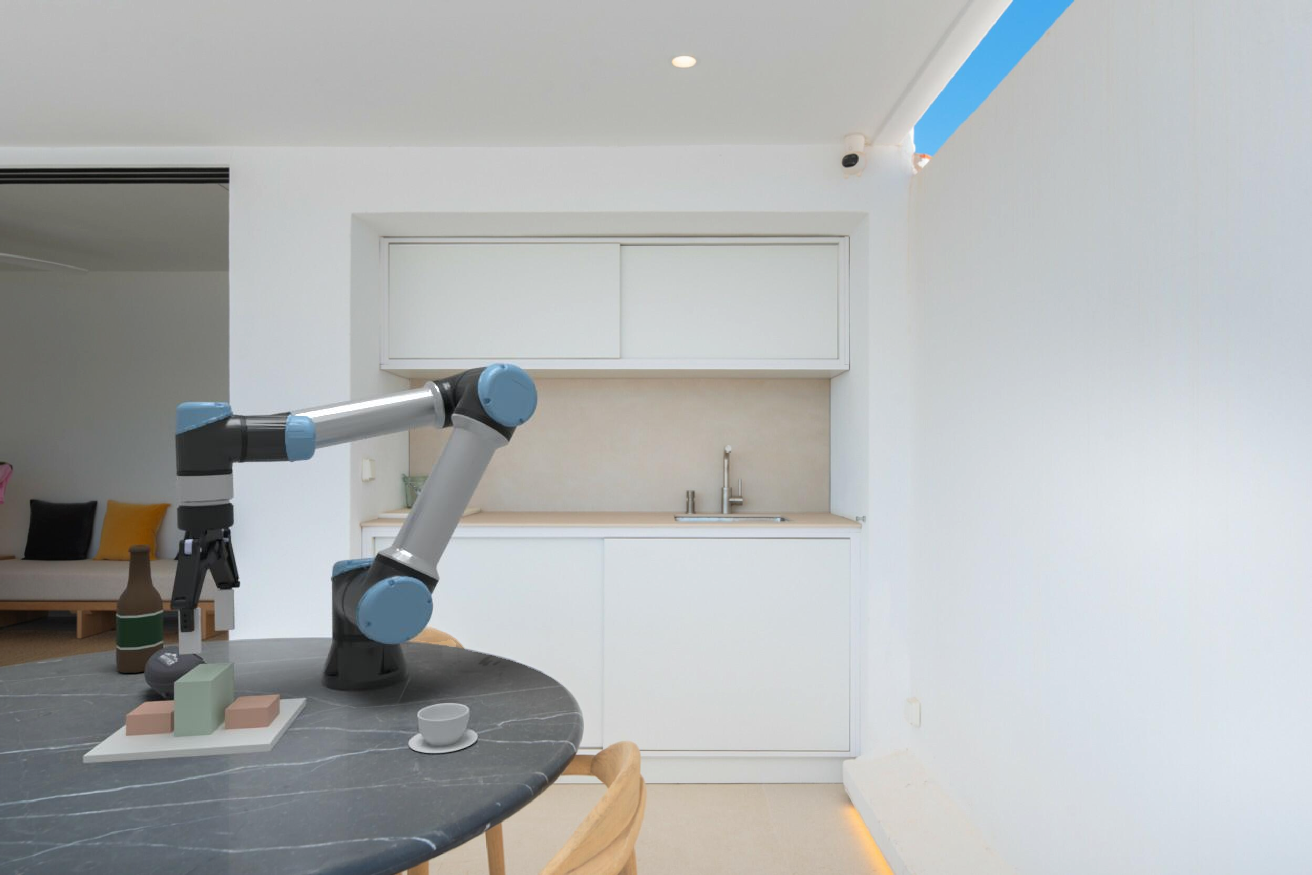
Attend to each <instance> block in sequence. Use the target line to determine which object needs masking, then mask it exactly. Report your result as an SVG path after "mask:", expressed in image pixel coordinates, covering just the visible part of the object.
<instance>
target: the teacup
mask: <svg viewBox="0 0 1312 875" xmlns="http://www.w3.org/2000/svg"><path fill="white" fill-rule="evenodd" d="M416 714H417V716H416V717H417V723H418V729H419V732H418V733H417V734H415V735H414V736H412V737H410V739H409V740H408V742H407V744H408V747H409V748H410V749H412V750H414V751H416V752H420V753H426V754H444V753H450V752H455V751H459V750H462V749H463V750H464V748H465V749H466V748H468V747H469V746H471V745H473V744H475V743H476V742H477V740H478V739H479V736H478V733H477V732H476V731H474V730H472V729H470V728H467V727H468V722H469V719H470V716H471V713H470V708H469V707H468V706H467V705H465V704H463V703H457V702H456V703H454V702H444V703H436V704H433V705H428V706H426V707H423V708H421V709H420V710H419V711H418V712H417V713H416Z"/></svg>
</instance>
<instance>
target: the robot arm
mask: <svg viewBox="0 0 1312 875" xmlns="http://www.w3.org/2000/svg"><path fill="white" fill-rule="evenodd" d="M538 398H539V397H538V391H537V388H536V384H535V382H534V380H533V378H532V377H531V376H530V374H529V373H528V372H527V371H526V370H524V369H523V368H521V366H518V365H515V364H512V363H503V362H497V363H492V364H490V365H488V366H487V365H486V366H482V367H481V366H480V367H475V368H470V369H467V370H464V371H462V372H459V373H456V374H453V375H451V376H447V377H444V378H439V379H434V380H429V381H427V382H426V383H425V384H424V386H423V387H419V388H413V389H408V390H403V391H396V392H392V393H386V394H380V395H374V396H369V397H363V398H357V399H353V400H352V399H351V400H347V401H345V400H344V401H342V402H335V403H329V404H324V405H318V406H313V407H307V408H306V407H305V408H301V409H296V410H295V409H294V410H290V411H287V412H286V411H285V412H279V413H274V414H262V415H261V414H260V415H259V414H257V415H256V414H255V415H254V414H253V415H242V414H234V411H233V410H232V405H231V404H230V403H229V402H224V401H223V402H222V401H217V402H214V401H192V402H191V401H188V402H183V403H180V404H179V405H178V406H177V407H176V409H175V427H174V439H175V440H174V442H175V444H174V445H175V447H174V448H175V465H176V466H175V469H176V481H174V482H173V487H174V488H175V489H176V500H177V502H178V503H181V505H179V506H178V507H177V508H176V516H177V518H176V519H177V522H176V523H177V524H176V525H177V529H178V530H179V531H187V532H189V539H180V540H179V543H178V559H177V564H176V571H175V577H174V581H173V586H172V593H171V598H170V605H169V608H170V610H171V611H177V610H178V612H177V613H178V614H177V615H178V647H179V654H196V655H197V654H201V653H202V651H203V650H202V611H201V610H202V608H201V607H199V606H198V605H199V601H200V597H201V593H202V590H203V587H204V583H205V579H206V575H207V571H208V570H209V572H210V574H211V577H212V579H213V580H214V581H213V582H214V584H215V586H216V589H215V590H213V595H214V596H213V598H214V599H213V600H214V601H213V602H214V605H213V606H214V631H216V632H218V631H233V630H235V628H236V627H235V589H238V588H240V586H241V581H240V577H239V576H240V575H239V571H238V567H237V561H236V556H235V552H234V549H233V542H232V531H231V529H230V528H231V527H233V525H234V523H235V521H234V520H235V519H234V518H235V513H234V512H235V511H234V510H235V508H234V504H233V503H232V502H230V500H232V499H234V496H235V494H234V474H233V473H234V472H233V464H234V463H235V464H236V463H238V464H240V463H242V464H243V463H273V462H277V463H278V462H290V463H293V462H301V461H308V460H311V459H312V458H313V457H314V456H315V452H316V450H318V449H323V448H327V447H332V446H338V445H342V444H346V443H347V444H348V443H351V442H352V443H353V442H356V441H361V440H363V441H364V440H367V439H371V438H377V437H382V436H385V435H386V436H387V435H391V434H396V433H401V432H406V431H410V430H416V429H421V428H426V427H430V426H431V427H433V428H434V429H436V430H443V429H447V428H453V430H452V432H451V434H450V436H449V437H448V439H447V441H446V443H445V445H444V447H443V448H442V450H441V452H440V454H439V456H438V458H437V460H436V462H435V464H434V466H433V467H432V469H431V471H430V473H429V475H428V476H427V479H426V480H425V483H424V484H423V486H422V487H421V490H420V491H419V493H418V495H417V498H416V500H415V501H414V503H413V505H412V506H411V509H410V511H409V512H408V514H407V516H406V518H405V520H404V522H403V523H402V526H401V527H400V529H399V532H398V533H397V535H396V537H395V539H394V540H393V542H392V544H391V545H390V546H389V547H386V548H385V549H382V550H379V551H378V552H377V553H376V555H375V557H366V558H365V557H364V558H354V559H343V560H338V561H335V563H334V564H333V566H332V570H331V572H332V573H331V577H330V582H331V630H332V631H331V638H332V639H331V645H330V648H329V651H328V654H327V657H326V660H325V663H324V666H323V669H322V672H321V673H322V674H321V684H322V686H323V687H324V688H326V689H329V690H332V691H341V692H358V691H370V690H376V689H382V688H386V687H390V686H393V685H395V684H399V683H400V682H402V681H404V680H406V678H407V677H408V675H409V674H408V673H409V670H408V669H409V666H408V663H407V659H406V656H405V653H404V650H403V647H402V644H403V643H406V642H409V641H411V640H413V639H414V638H416V637H417V636H419V635H420V633H422V632H423V631H424V630H425V628H426V627H427V625H428V624H429V622H430V620H431V619H432V615H433V610H434V601H433V597H432V595H433V594H434V591H435V589H436V587H437V585H438V583H439V581H440V576H439V573H438V569H437V567H438V564H439V562H440V560H441V558H442V556H443V554H444V552H445V550H446V548H447V546H448V545H449V543H450V540H451V538H452V536H453V534H454V533H455V531H456V529H457V527H458V525H459V522H460V521H461V519H462V517H463V515H464V514H465V512H466V509H467V507H468V505H469V503H470V501H471V500H472V497H473V496H474V493H475V492H476V490H477V489H478V488H477V487H478V486H479V484H480V482H481V480H482V478H483V476H484V474H485V473H486V470H487V469H488V466H489V464H490V463H491V460H492V459H493V456H494V455H495V453H496V451H497V450H498V449H500V448H502V447H506V446H508V445H509V443H510V441H511V440H512V437H513V435H514V433H515V431H516V429H517V428H518V426H522V425H524V424H525V423H526V422H529V420H530V419H531V418H532V417H533V415H534V414H535V411H536V409H537V406H538ZM234 588H235V589H234Z"/></svg>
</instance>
